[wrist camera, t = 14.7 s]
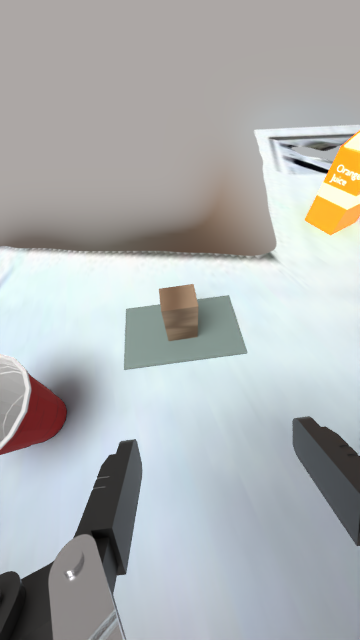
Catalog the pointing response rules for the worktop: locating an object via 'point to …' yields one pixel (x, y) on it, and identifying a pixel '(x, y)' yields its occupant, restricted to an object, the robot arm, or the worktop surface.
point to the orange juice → (339, 191)
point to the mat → (154, 348)
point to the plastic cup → (26, 408)
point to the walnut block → (179, 312)
